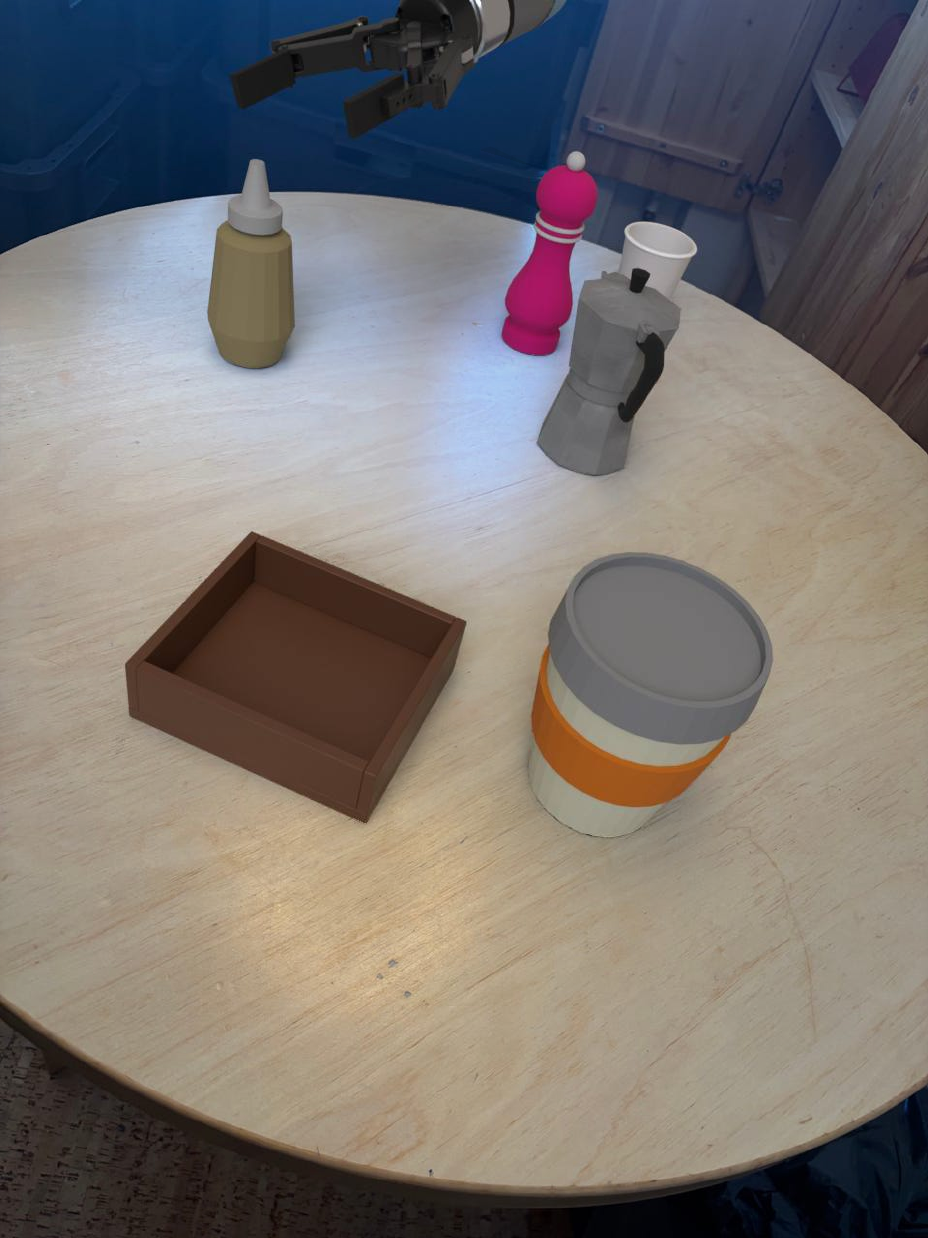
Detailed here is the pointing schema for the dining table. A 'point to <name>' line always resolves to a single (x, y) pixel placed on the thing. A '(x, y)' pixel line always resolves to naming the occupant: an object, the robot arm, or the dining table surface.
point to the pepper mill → (550, 260)
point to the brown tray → (297, 673)
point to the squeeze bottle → (252, 277)
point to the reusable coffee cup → (640, 688)
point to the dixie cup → (657, 254)
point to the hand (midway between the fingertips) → (290, 105)
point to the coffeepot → (608, 371)
